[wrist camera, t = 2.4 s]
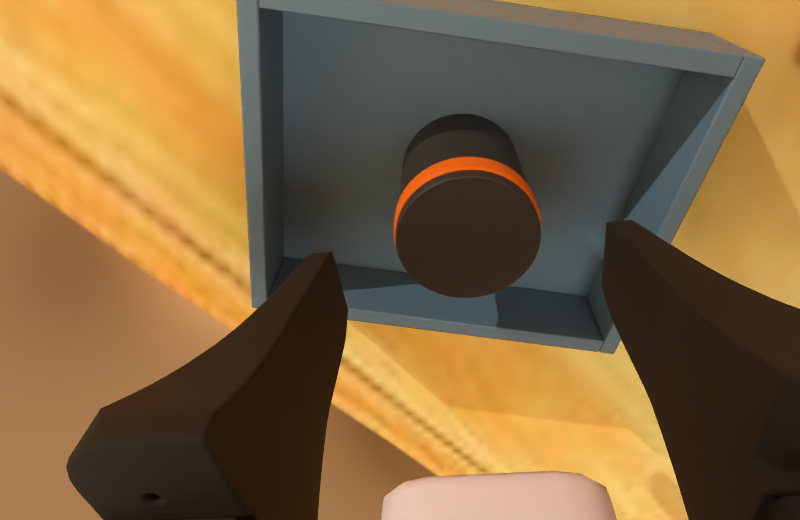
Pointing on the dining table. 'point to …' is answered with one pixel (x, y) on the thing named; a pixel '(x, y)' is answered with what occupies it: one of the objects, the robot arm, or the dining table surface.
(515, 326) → the bin
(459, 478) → the robot arm
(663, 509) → the dining table surface
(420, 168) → the dark brown cylinder
